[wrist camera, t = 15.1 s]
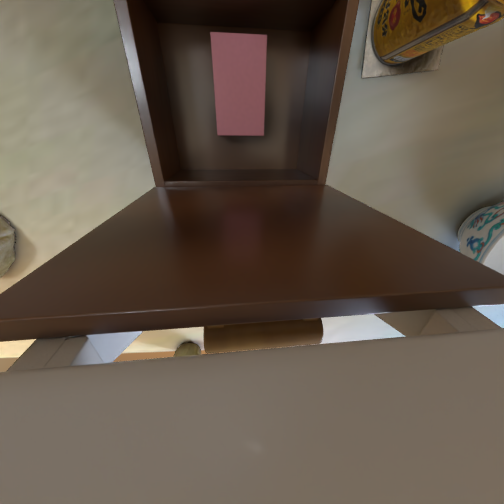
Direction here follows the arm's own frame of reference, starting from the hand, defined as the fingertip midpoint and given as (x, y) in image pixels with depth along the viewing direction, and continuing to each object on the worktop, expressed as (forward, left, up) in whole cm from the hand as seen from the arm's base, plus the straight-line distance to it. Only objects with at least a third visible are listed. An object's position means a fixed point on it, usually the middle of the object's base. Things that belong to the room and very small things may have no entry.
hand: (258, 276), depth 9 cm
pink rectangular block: (-9, 0, -18) cm, 21 cm away
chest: (-8, 0, -19) cm, 21 cm away
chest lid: (-2, 0, -4) cm, 4 cm away
